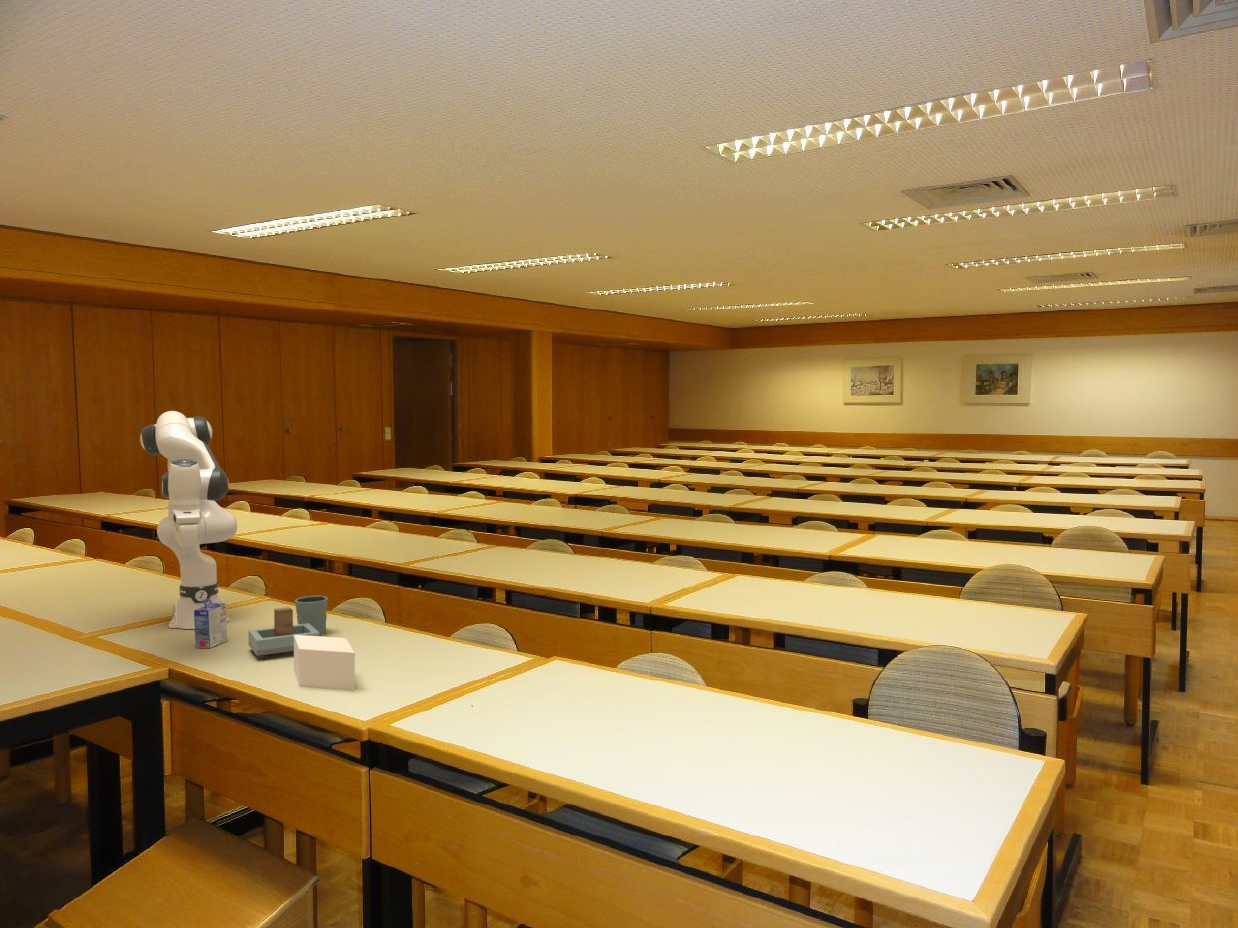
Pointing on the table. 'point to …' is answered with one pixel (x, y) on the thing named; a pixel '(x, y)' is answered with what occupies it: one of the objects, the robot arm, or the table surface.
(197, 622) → the ink cartridge box
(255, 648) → the grey storage tray
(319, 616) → the grey tapered cup
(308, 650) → the white rectangular block
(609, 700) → the table surface
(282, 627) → the walnut part
